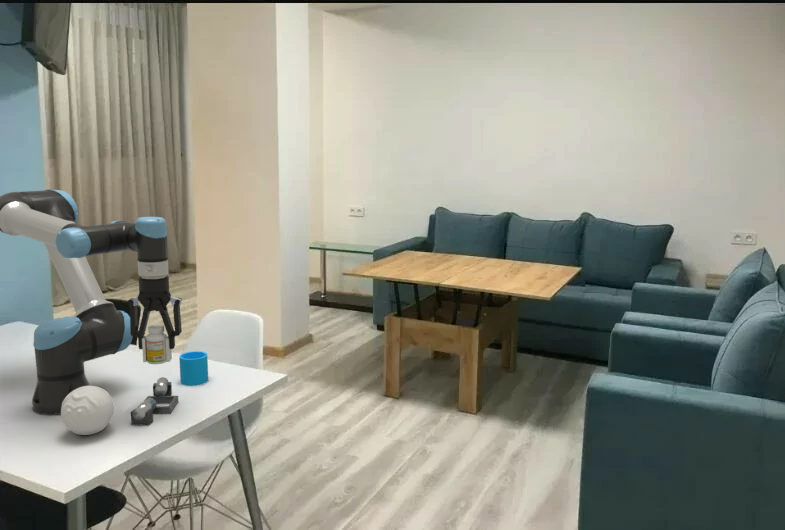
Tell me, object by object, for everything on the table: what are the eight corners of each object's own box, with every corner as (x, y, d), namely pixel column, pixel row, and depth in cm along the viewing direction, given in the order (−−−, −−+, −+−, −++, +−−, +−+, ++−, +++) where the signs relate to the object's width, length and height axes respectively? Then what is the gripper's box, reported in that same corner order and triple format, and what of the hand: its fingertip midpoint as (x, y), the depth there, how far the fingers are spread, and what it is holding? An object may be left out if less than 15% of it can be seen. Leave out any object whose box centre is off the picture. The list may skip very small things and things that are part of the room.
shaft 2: (170, 401, 189) (169, 385, 188) (151, 402, 188) (150, 386, 187) (172, 392, 195) (171, 376, 195) (154, 393, 194) (153, 377, 193)
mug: (210, 383, 203) (209, 357, 202) (182, 387, 200) (181, 361, 198) (204, 371, 214) (203, 346, 212) (177, 374, 210) (176, 349, 209)
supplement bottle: (156, 357, 185) (155, 323, 184) (172, 360, 183) (171, 325, 182) (142, 363, 181) (140, 327, 179) (158, 366, 179) (157, 330, 177)
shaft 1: (143, 414, 180) (142, 397, 179) (160, 415, 179) (159, 398, 178) (130, 425, 173) (129, 407, 172) (148, 426, 172) (147, 408, 171)
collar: (139, 414, 180) (139, 407, 179) (148, 402, 188) (148, 396, 187) (170, 414, 180) (170, 407, 180) (178, 402, 188) (178, 395, 188)
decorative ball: (52, 441, 163) (48, 394, 161) (81, 421, 175) (77, 377, 173) (98, 444, 162) (94, 397, 160) (124, 424, 173) (121, 380, 171)
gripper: (112, 278, 173) (117, 365, 178) (186, 279, 175) (189, 364, 179) (121, 273, 181) (126, 356, 185) (192, 273, 182) (195, 355, 186)
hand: (157, 360), depth 182 cm, fingers closed on supplement bottle, 5 cm apart
